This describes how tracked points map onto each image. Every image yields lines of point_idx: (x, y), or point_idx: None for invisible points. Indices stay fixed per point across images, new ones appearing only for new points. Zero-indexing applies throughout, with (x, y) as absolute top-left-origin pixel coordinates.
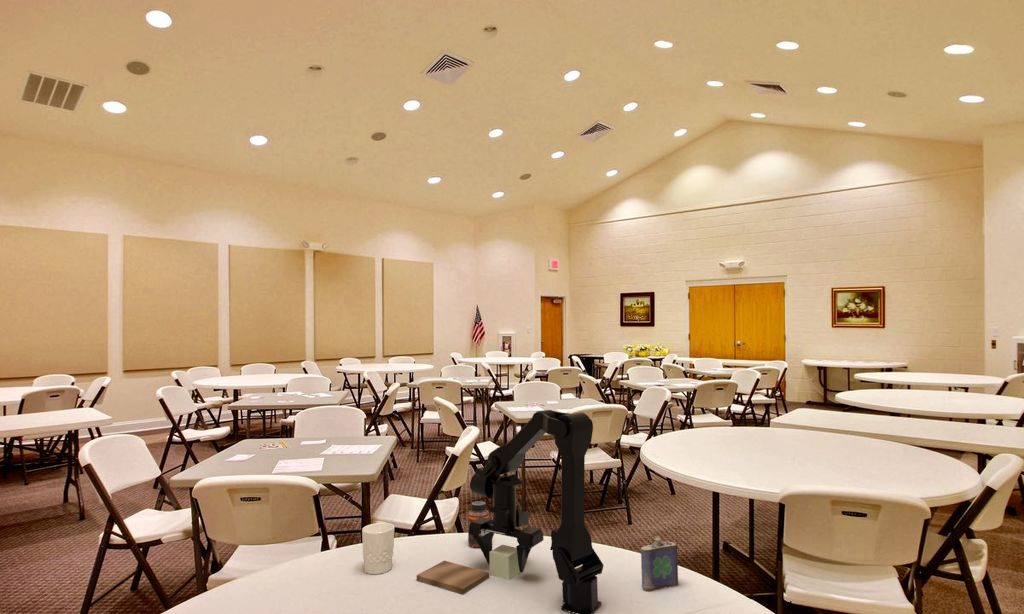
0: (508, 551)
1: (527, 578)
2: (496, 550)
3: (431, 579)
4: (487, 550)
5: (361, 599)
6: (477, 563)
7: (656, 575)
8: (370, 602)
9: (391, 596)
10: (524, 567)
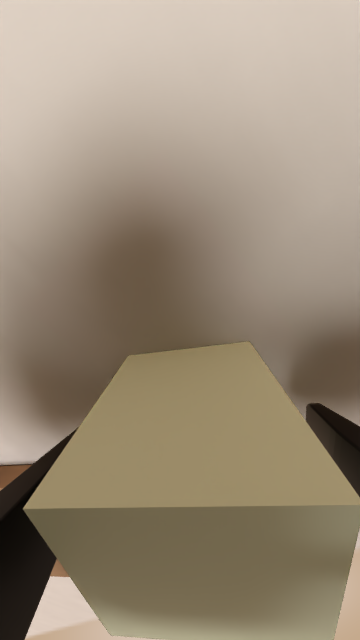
0: (253, 597)
1: (326, 381)
2: (129, 609)
3: (69, 576)
4: (38, 561)
5: (48, 616)
6: (14, 393)
7: None
8: (71, 617)
9: (73, 599)
10: (344, 421)
